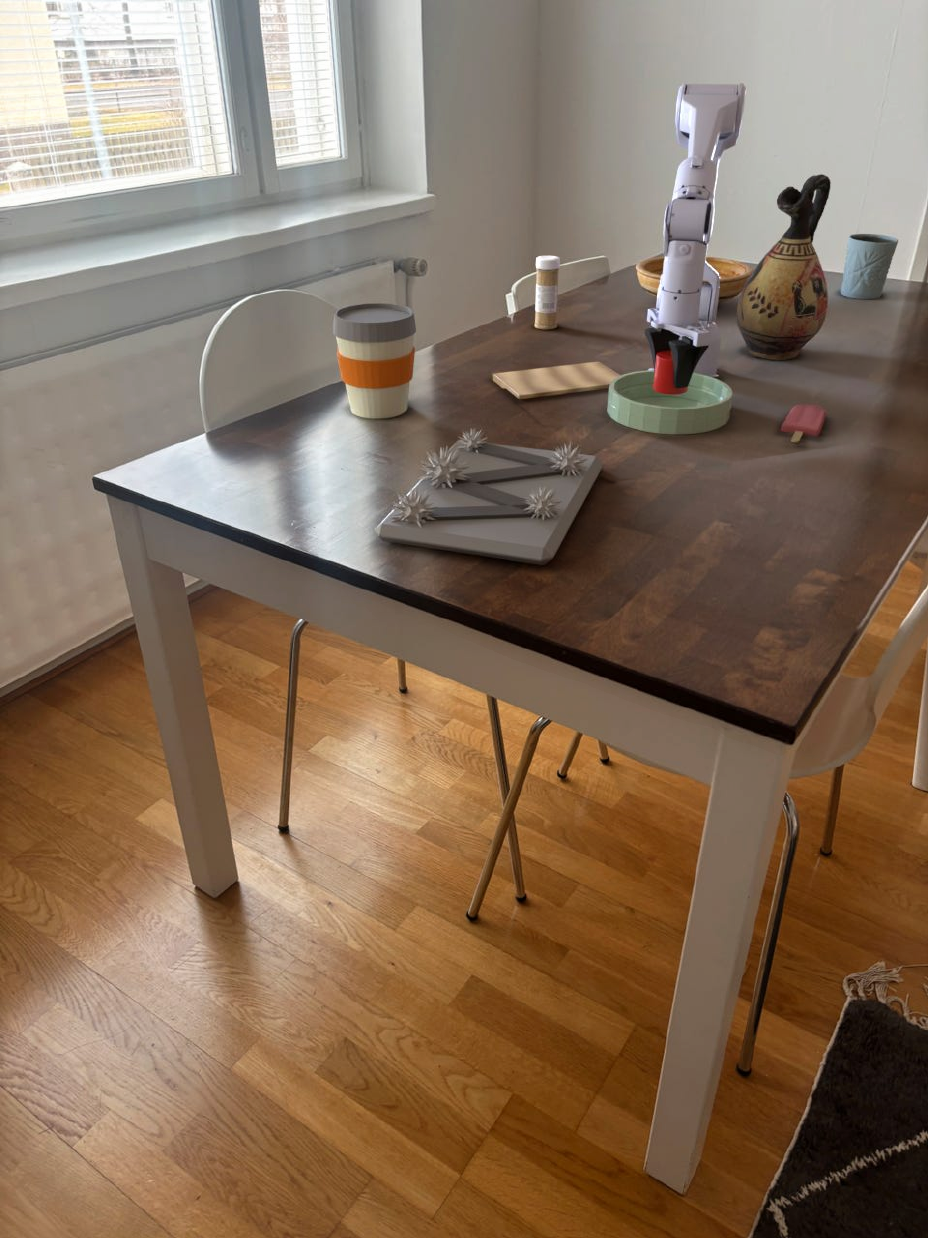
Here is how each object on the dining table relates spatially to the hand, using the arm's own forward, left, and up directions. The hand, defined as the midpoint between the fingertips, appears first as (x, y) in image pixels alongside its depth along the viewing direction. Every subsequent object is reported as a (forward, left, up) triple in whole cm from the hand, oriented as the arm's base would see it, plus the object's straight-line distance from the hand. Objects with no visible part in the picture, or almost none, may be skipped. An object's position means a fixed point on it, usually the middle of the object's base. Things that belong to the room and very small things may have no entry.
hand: (671, 381), depth 145 cm
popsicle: (-16, +12, -6) cm, 21 cm away
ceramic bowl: (-39, -59, -6) cm, 71 cm away
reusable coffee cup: (+41, -19, -6) cm, 46 cm away
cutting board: (+9, -20, -6) cm, 23 cm away
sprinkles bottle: (-3, -54, -6) cm, 54 cm away
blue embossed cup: (-80, -54, -6) cm, 97 cm away
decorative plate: (+36, +21, -6) cm, 42 cm away
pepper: (0, 0, -1) cm, 1 cm away
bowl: (0, 0, -6) cm, 6 cm away
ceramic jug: (-36, -23, -6) cm, 43 cm away
